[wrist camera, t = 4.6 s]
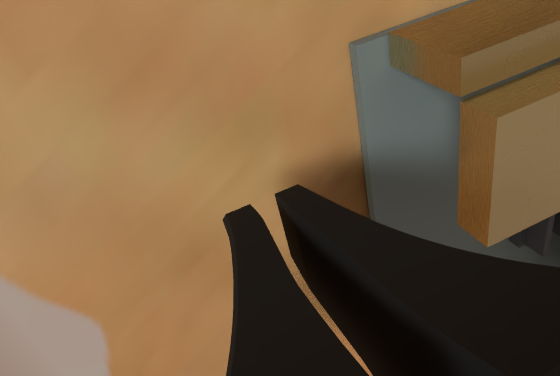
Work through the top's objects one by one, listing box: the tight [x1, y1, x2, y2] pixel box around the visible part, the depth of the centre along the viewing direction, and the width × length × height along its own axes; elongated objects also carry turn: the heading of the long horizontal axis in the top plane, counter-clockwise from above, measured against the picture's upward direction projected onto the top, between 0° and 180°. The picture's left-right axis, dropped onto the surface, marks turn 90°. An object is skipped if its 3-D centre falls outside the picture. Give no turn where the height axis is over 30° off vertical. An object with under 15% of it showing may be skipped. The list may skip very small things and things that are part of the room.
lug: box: [388, 0, 560, 248], centre depth 13 cm, size 5×5×4 cm
